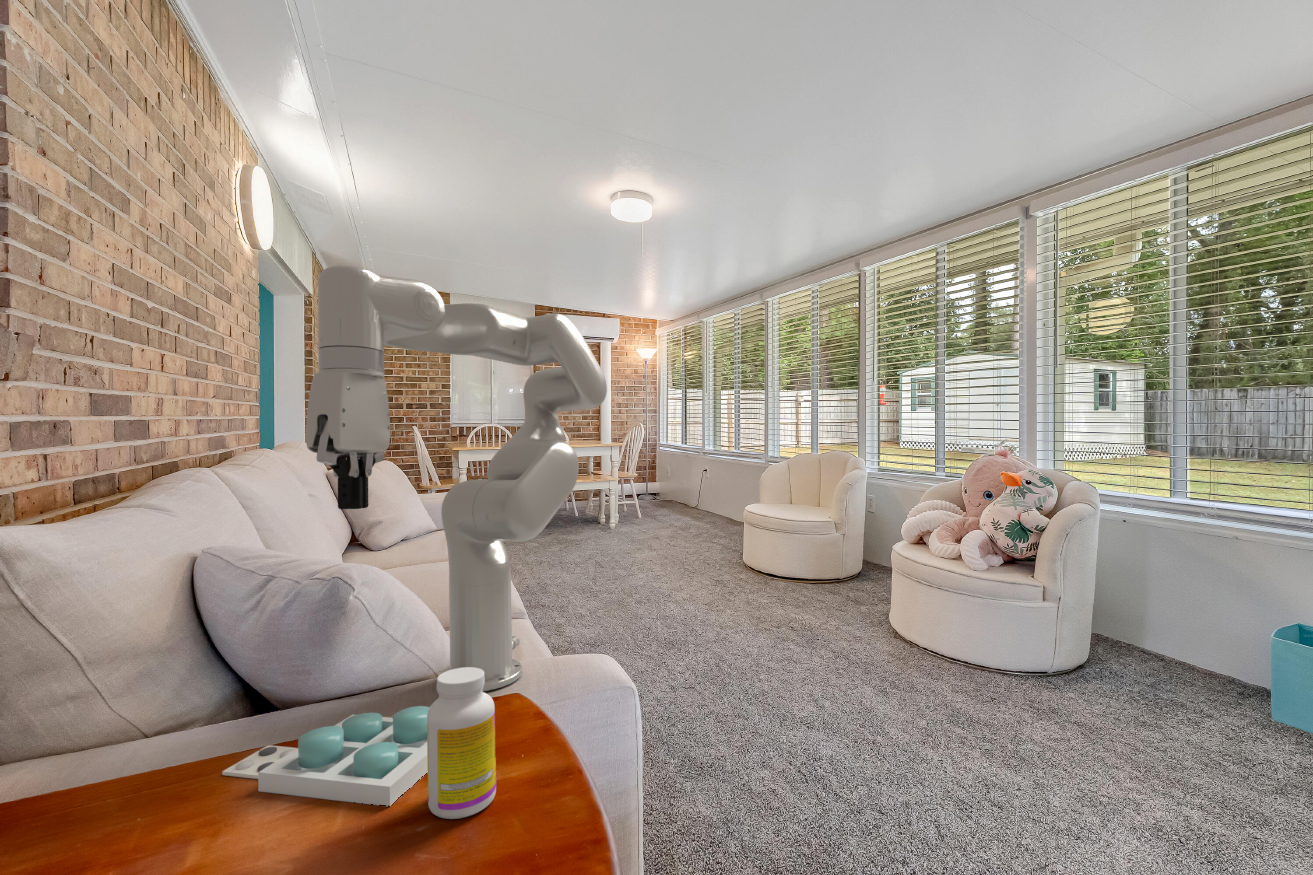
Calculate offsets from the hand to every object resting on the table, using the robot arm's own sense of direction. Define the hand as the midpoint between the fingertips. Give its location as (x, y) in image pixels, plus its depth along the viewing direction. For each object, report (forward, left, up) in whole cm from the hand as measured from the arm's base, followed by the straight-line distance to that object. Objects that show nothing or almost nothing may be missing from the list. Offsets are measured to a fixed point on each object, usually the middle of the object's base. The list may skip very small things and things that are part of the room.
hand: (353, 508), depth 74 cm
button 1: (+8, +2, -27) cm, 28 cm away
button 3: (+8, +10, -28) cm, 31 cm away
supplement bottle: (+10, +21, -29) cm, 37 cm away
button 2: (+2, +2, -28) cm, 29 cm away
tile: (+7, -6, -29) cm, 31 cm away
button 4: (+2, +10, -27) cm, 29 cm away
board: (+5, +6, -29) cm, 30 cm away
